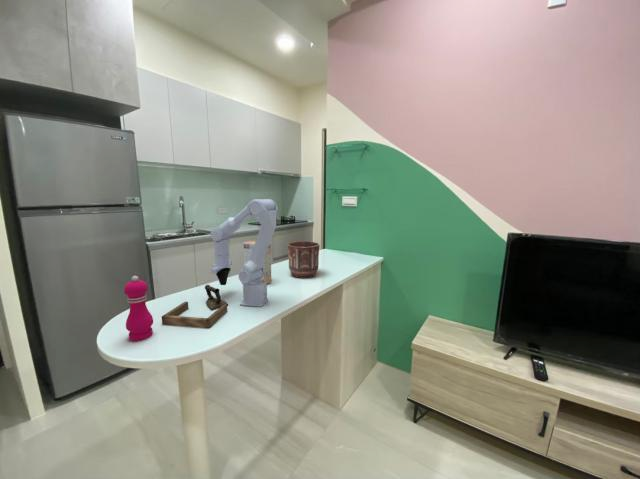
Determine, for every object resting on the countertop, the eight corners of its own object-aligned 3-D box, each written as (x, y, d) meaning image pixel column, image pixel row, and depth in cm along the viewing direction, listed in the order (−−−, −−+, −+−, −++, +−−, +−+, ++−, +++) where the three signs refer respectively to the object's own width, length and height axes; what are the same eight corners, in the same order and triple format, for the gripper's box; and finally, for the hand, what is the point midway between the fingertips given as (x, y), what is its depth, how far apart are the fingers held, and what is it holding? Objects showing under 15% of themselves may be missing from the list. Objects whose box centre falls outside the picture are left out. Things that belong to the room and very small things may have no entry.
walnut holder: (227, 311, 103) (226, 304, 103) (209, 328, 90) (208, 320, 90) (185, 308, 105) (185, 301, 105) (162, 324, 92) (161, 316, 92)
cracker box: (272, 282, 137) (271, 243, 134) (263, 286, 132) (262, 244, 129) (252, 278, 145) (251, 240, 141) (244, 280, 140) (243, 241, 136)
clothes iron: (213, 312, 103) (206, 288, 102) (201, 310, 111) (195, 287, 110) (229, 305, 108) (223, 282, 107) (217, 304, 116) (211, 282, 115)
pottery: (305, 268, 164) (305, 240, 161) (325, 275, 151) (325, 244, 148) (282, 274, 152) (281, 243, 149) (301, 282, 139) (300, 248, 136)
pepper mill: (136, 330, 88) (129, 272, 85) (158, 330, 89) (153, 272, 85) (121, 342, 81) (114, 279, 78) (146, 341, 81) (140, 279, 78)
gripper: (221, 250, 123) (222, 278, 125) (204, 258, 108) (205, 289, 111) (235, 251, 122) (236, 279, 124) (220, 259, 108) (221, 290, 110)
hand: (223, 284), depth 117 cm, fingers closed
